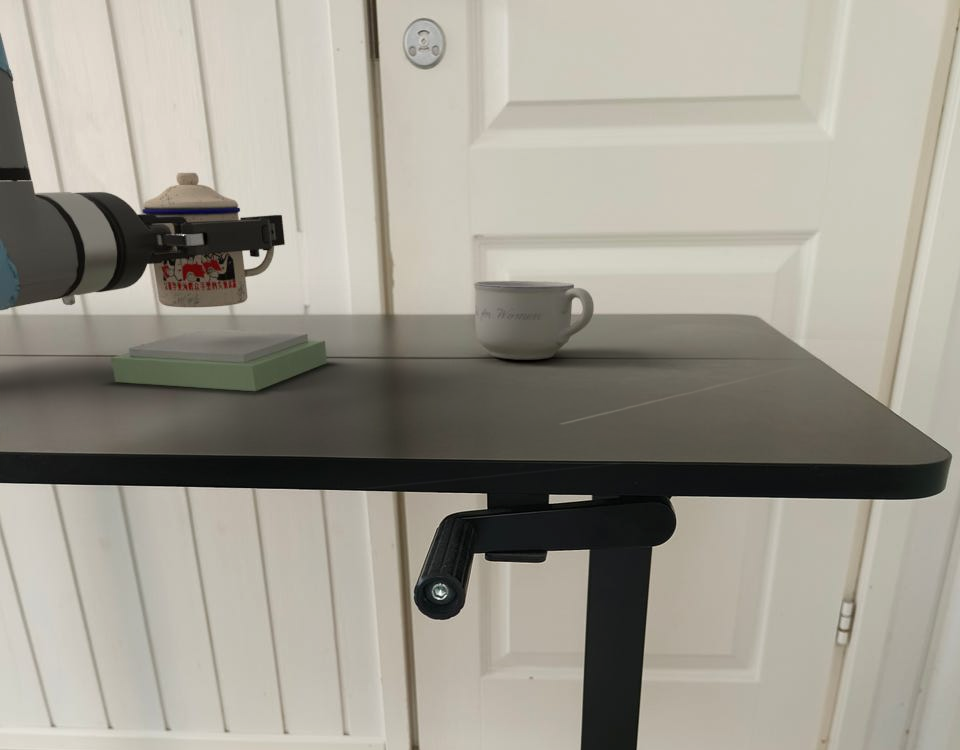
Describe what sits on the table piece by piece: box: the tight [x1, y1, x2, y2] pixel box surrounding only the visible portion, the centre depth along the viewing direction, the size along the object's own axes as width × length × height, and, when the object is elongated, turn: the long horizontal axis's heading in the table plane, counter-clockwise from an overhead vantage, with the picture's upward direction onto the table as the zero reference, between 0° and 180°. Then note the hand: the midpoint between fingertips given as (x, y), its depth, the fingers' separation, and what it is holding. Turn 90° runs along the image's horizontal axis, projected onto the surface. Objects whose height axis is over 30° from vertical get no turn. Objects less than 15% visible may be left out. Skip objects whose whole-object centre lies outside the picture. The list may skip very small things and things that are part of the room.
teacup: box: [473, 280, 595, 361], centre depth 99 cm, size 14×11×8 cm
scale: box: [110, 328, 328, 392], centre depth 95 cm, size 16×15×3 cm
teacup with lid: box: [142, 172, 275, 308], centre depth 90 cm, size 12×9×12 cm
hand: (229, 229), depth 93 cm, fingers closed on teacup with lid, 11 cm apart
